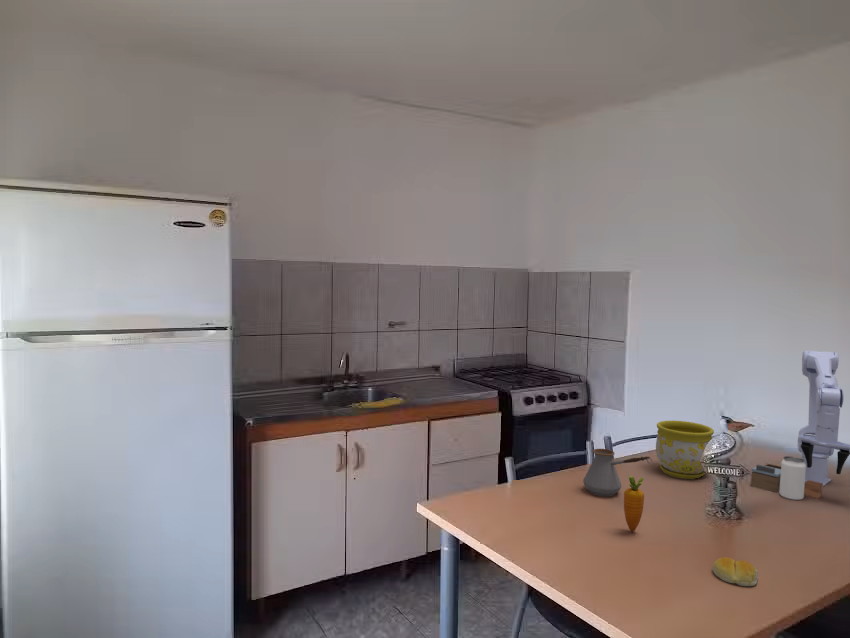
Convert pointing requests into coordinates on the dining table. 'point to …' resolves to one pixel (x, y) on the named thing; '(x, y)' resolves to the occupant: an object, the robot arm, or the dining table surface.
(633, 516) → the carrot
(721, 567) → the bread roll
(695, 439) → the flowerpot
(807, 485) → the block
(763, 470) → the cover
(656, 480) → the dining table surface
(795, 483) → the can
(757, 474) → the brown rectangular box
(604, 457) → the coffee pot
